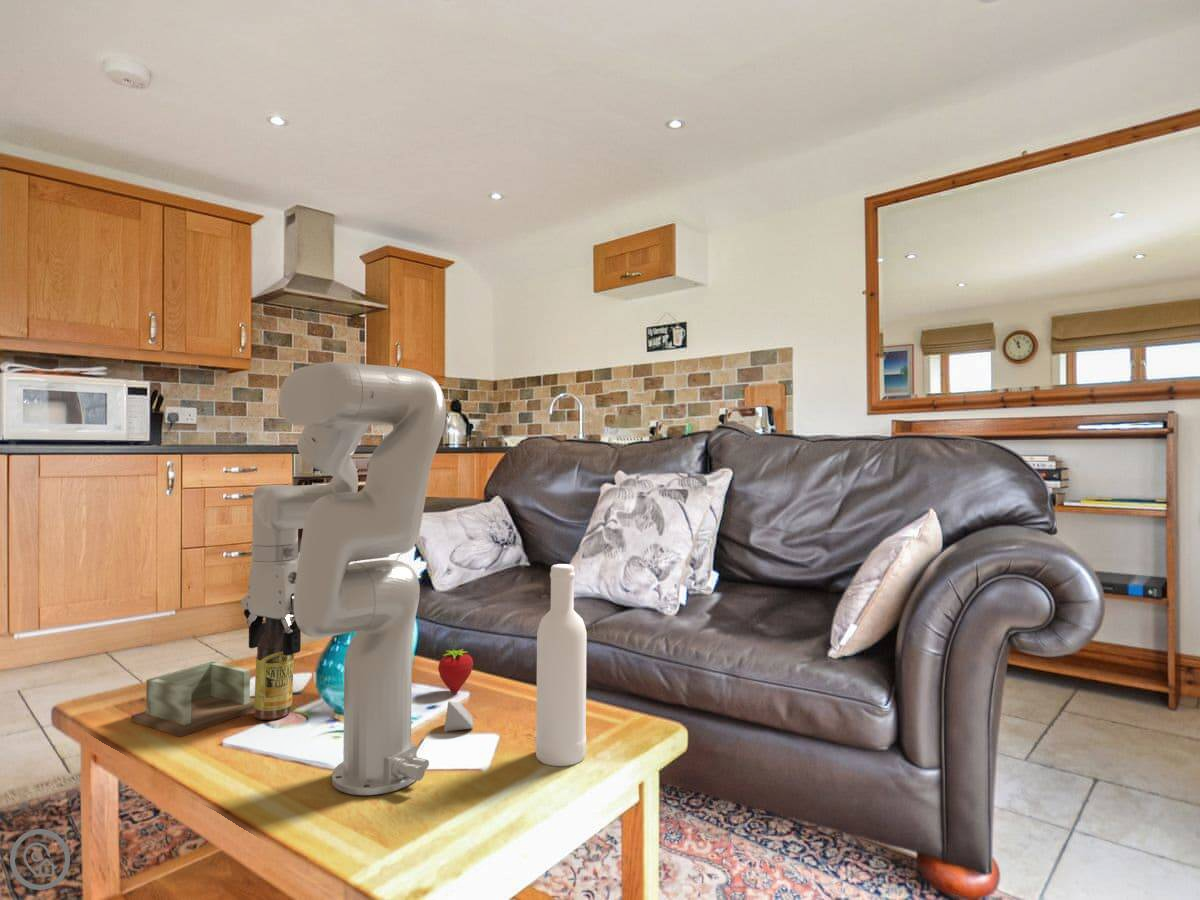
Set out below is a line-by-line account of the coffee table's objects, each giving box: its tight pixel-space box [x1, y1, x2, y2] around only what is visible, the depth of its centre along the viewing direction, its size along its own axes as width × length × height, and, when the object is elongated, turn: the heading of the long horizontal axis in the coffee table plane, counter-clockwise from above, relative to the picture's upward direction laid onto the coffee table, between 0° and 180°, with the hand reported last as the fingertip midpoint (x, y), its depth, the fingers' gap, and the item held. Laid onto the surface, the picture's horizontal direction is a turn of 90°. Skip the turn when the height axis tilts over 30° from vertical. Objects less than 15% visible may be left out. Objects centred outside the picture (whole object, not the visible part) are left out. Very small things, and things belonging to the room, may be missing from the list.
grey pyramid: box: [443, 700, 474, 733], centre depth 124 cm, size 6×6×5 cm
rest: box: [130, 661, 255, 738], centre depth 130 cm, size 14×16×7 cm
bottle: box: [535, 563, 588, 767], centre depth 113 cm, size 8×8×30 cm
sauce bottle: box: [253, 613, 295, 721], centre depth 130 cm, size 6×6×20 cm
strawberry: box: [437, 643, 474, 694], centre depth 142 cm, size 6×8×10 cm
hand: (274, 649), depth 130 cm, fingers open, 8 cm apart
